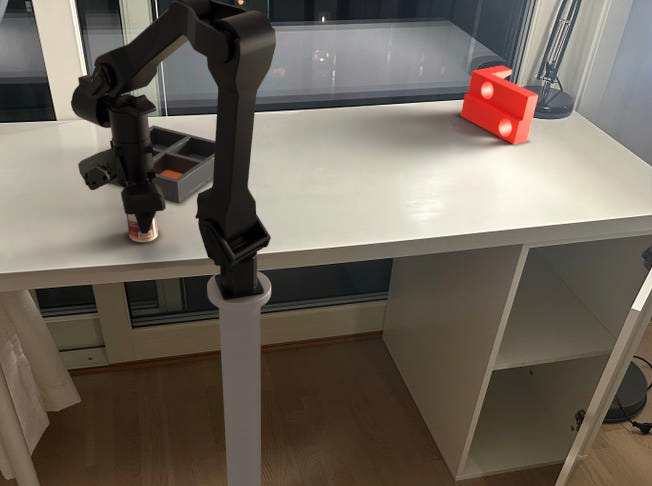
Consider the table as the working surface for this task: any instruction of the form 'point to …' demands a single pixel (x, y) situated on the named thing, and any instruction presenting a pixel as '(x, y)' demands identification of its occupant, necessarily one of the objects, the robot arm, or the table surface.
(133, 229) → the pill bottle
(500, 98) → the bracket
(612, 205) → the table surface
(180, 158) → the organiser
